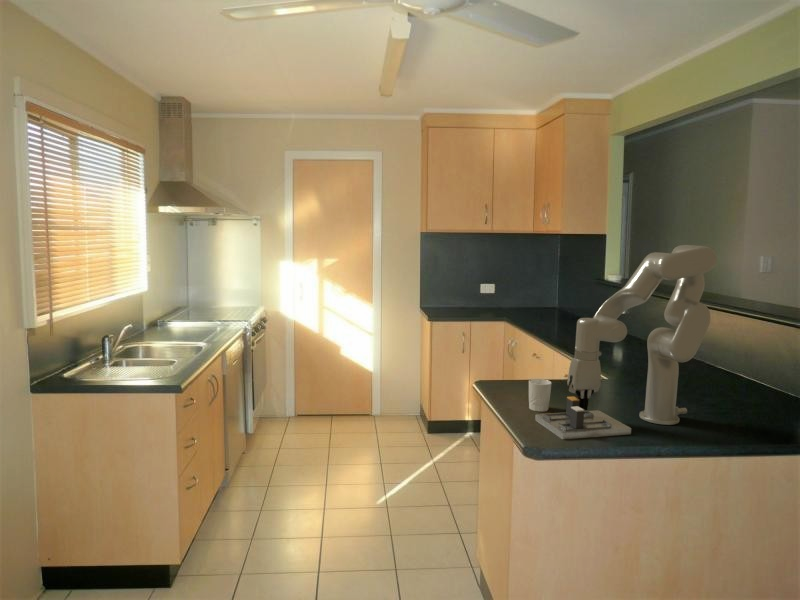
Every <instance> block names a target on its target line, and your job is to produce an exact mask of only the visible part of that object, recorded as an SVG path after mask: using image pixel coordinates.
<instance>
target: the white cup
mask: <svg viewBox="0 0 800 600" xmlns="http://www.w3.org/2000/svg"><path fill="white" fill-rule="evenodd" d="M551 390H552V381H550V380H549V379H543V378H531V379H528V409H529V410H531V411H534V412H541V413H542V412H543V413H545V412H548V411H549V406H550V398H551Z"/></svg>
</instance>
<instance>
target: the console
mask: <svg viewBox="0 0 800 600" xmlns="http://www.w3.org/2000/svg"><path fill="white" fill-rule="evenodd" d="M534 416H535V417H534V418H535V419H534V421H536V422H538V424H540V425H541V426H543V427H544V428H546V429H547V430H548V431H550V432H551V433H553V434H554V435H556V436H557V437H558V438H559V439H561V440H575V439H584V438H585V439H586V438H598V437H599V438H600V437H609V436H611V437H613V436H623V435H624V436H625V435H632V428H631V427H630V426H629V425H627V424H624V423H623V422H621V421H620V420H617V419H615V418H614V417H612V416H610V415H608V414H606V413H604V412H603V411H601V410H588V409H587V410H584V422H583V428H580V429H575V428H574V427H572V426H571V425H570V416H568V415H567V414H566V411H565V412H554V413H553V412H552V413H551V412H543V413H542V412H541V413H540V414H539V413H538V414H537V413H536V414H535V415H534Z"/></svg>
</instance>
